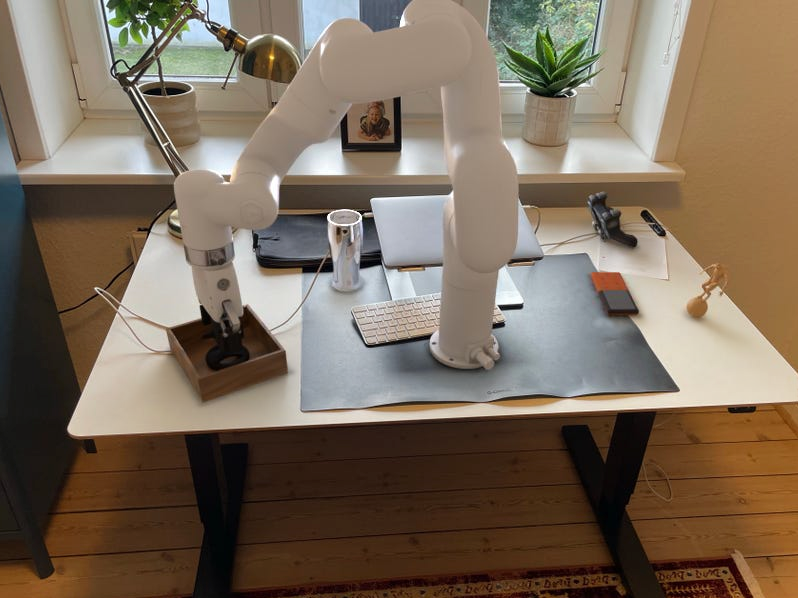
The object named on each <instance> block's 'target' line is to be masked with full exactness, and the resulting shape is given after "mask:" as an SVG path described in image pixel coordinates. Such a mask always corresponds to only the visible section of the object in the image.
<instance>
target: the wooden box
mask: <svg viewBox="0 0 798 598" xmlns="http://www.w3.org/2000/svg"><path fill="white" fill-rule="evenodd" d="M242 307H243V315H242V316H241V317H239V319H240V321H241V324H242V327H243V332H244V338H243V339H242V345H243V346H245V347H246V348H247V349H248V351H249V354H250V357H249V360H248V361H246V362H243V363H240V364H237V365H234V366H231V367H228V368H225V369H222V370H219V371H215V370H213V369H211V368H210V367H209V366H208V365H207V363H206V359H205V357H206V354H207V352H208V351H209V350H210V349H211V348H212V347H214V346H216V345H217V343H216V341H215V339H214V338H205V339H202V336H201V335H203V334H206V333H208V332H210V331H211V330H212V328H211V324H209V325H203V323H202V318H201V317H199V318H197V319H193V320H190V321H187V322H183V323H180V324H177V325H173V326H170V327H166V328H165V332H166V336H167V341H168V346H169V350H170V352H171V354H172V355H173V357H174V359H175V360H176V362H177V363H178V365H179V367H180V368H181V370H182V372H183V374H184V376H185V377H186V378H187V380H188V381H189V383H190V385H191V387H192V388H193V389H194V391H195V392H196V394H197V396H198V398H199V399H200V400H201V402H202V403H206V402H208V401H211V400H214V399H217V398H219V397H223V396H225V395H228V394H231V393H234V392H237V391H240V390H243V389H246V388H248V387H251V386H254V385H257V384H260V383H262V382H265V381H269V380H272V379H274V378H277V377H279V376H283V375H286V374H288V373H289V369H288V360H287V351H286V349H285V348H284V346H283V345H282V343H280V341H279V340H278V339H277V338H276V337H275V335H274V334H273V333H272V332H271V331H270V329H269V328H268V327H267V325H265V323H264V322H263V321H262V320H261V318H260V317H259V316H258V315H257V313H256V311H255V310H254V309H253V308H252V307H251V306H250V305H249V304H248V303H247V304H244V305H243V304H242ZM239 359H240V357H239V356H233V357H229V358H226V359H224V360H222V361H221V362H220V363H222V364H227V363H232V362H235V361H237V360H239Z"/></svg>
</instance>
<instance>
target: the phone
mask: <svg viewBox="0 0 798 598" xmlns="http://www.w3.org/2000/svg"><path fill="white" fill-rule="evenodd" d="M589 275H590V278H591V281H592V283H593V285H594V288H595V289H596V292H597V294H598V297H599V299H600V301H601V303H602V305H603V308H604V311H605V313H606V315H608V316H638V315H639V314H640V310H639V308H638V306H637V304H636V302H635V300H634V298H633V297H632V294H631V292H630V290H629V288H628V286H627V284H626V282H625V280H624V278H623V276H622V274H621V273H620V272H618V271H593V272H591V273H590V274H589Z"/></svg>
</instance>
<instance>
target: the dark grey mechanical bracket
mask: <svg viewBox="0 0 798 598" xmlns="http://www.w3.org/2000/svg"><path fill="white" fill-rule="evenodd" d="M607 198H608V193H606V192H605V191H601V192H596V194H595V195H594V194H591V195H589V196H588V201H587V204H586V205H587V209H588V210H589V212H590V214H591V216H592V218H593V220H594V221H592V222H591V225H592V228H593V229H594V230H595V231H597V232H598V235H599V237H600V239H602V240H604V237H605V238H606V239H607V240H612V241H614V242H617V243H619V244H622V245H624V246H627V247H630V248H634V249H635V248H637V246H638V244H639V241H638V238H637V237H636V236H635V235H634V234H630V233H625V232H624V231H623V230H622V229H621V222H620V218H621V216H622V214H623V213H622V211H621V210H620V209H619V208H618V209H615V208H613V207H612V206H609V205H607V204H606V200H607Z"/></svg>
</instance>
